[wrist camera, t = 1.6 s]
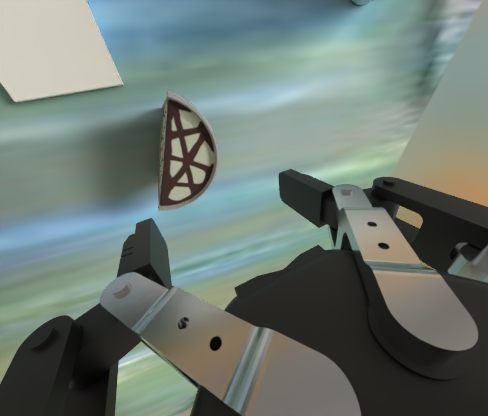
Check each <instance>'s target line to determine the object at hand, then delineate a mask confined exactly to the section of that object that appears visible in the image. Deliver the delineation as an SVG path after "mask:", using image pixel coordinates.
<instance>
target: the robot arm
mask: <svg viewBox="0 0 488 416" xmlns="http://www.w3.org/2000/svg"><path fill="white" fill-rule="evenodd" d="M351 1H352V2H354V3H355V4H357V5H365V4H367V3H369V2H371V1H374V0H351ZM279 190H280V197H281V199H282V201H283V202H284V203H285V204H287V205H288V206H289V207H291V208H292V209H294V210H295V211H296V212H298V213H299V214H300V215H302V216H303V217H305V218H306V219H307V220H309V221H310V222H312V223H313V224H314V225H316V226H317V227H318V228H320V227H322V226H324V225H326V224H328V233H329V237H330V242H331V246H332V250H324V249H323V248H322V247H320V246H319V245H317V246H315V247H313V248H312V249H310V250H308V251H306V252H304V253H302V254H300V255H299V256H298V257H297V258H296V259H294V260H293V261H292V262H291V263H290V264H289V265H288V266H287V267H286V268H285V269H283V270H280V271H276V272H272V273H268V274H264V275H260V276H257V277H255V278H253V279H251V280H249V281H247V282H245V283H243V284H241V285H239V286H237V287H235V291H236V294H237V296H236V297H235V298H234V299H233V300H232V301H231V302H230V303H229V305H228V306H227V307H226V309H225V310H222V309H220V308H218V307H216V306H214V305H212V304H210V303H208V302H206V301H204V300H202V299H200V298H198V297H196V296H194V295H192V294H190V293H188V292H186V291H184V290H182V289H180V288H178V287H175V286H172V284H171V275H170V267H169V258H168V249H167V245H166V243H165V240H164V238H163V237H162V235H161V233H160V231H159V229H158V227H157V226H156V224H155V222H154V220H153V219H152V218H150V219H147V220H144V221H141V222H139V223H137V224H136V230H135V234H133V235H130V236H129V237H128V238H127V240H126V241H125V242H124V244H123V249H122V251H123V252H122V254H121V259H120V264H119V269H118V274H117V278H116V279H115V280H113V281H112V282H111V283H110V284H109V285H108V286H107V287H106V288H105V289H104V291H103V292H102V294H101V297H100V303H99V304H98V305H96V306H95V307H93V308H92V309H90V310H89V311H87V312H86V313H84V314H83V315H82V316H80V317H79V318H77V319H76V320H73V319H72V318H71V317H69V316H65V315H64V316H59V317H56V318H53V319H51V320H49V321H48V322H46V323H44V324H43V325H42V326H40V327H39V328H38V329H36V330H35V331H34V332H33V333H32V334H31V335H30V336H29V337H28V338H27V339H26V340H25V341H24V342H23V343H22V344H21V346H20V347H19V349H18V350H17V352H16V354H15V356H14V358H13V360H12V362H11V364H10V366H9V368H8V370H7V372H6V374H5V376H4V378H3V380H2V382H1V384H0V416H115V403H116V389H117V375H118V362H119V360H120V359H121V358H122V357H124V356H125V355H126V354H127V353H128V352H129V351H130V350H132V349H133V348H134V347H135V346H136V345H137V344H139V343H140V342H142V343H143V344H145V345H146V346H147V347H148V348H150V349H151V350H152V351H153V352H154V353H156V354H157V355H158V356H159V357H160V358H162V359H163V360H164V361H165V362H167V363H168V364H169V365H170V366H171V367H173V368H174V369H175V370H176V371H177V372H178V373H179V374H181V375H182V376H183V377H184V378H185V379H187V380H188V381H189V382H190V383H191V384H193V385H194V386H195V387H196V388H197V389H198V391H197V394H196V398H195V401H194V404H193V408H192V411H191V415H190V416H488V207H486V206H483V205H480V204H477V203H473V202H470V201H467V200H464V199H461V198H457V197H455V196H452V195H448V194H445V193H442V192H439V191H436V190H433V189H429V188H427V187H423V186H420V185H417V184H414V183H411V182H408V181H405V180H401V179H398V178H393V177H380V178H377V179H375V180H374V181H373V186H372V188H368V189H363V190H362V189H361V188H360V187H358V186H355V185H350V184H342V185H337V186H335V187H334V186H332V185H330V184H327V183H325V182H323V181H320V180H318V179H316V178H314V177H311V176H309V175H306V174H301V173H299V172H297V171H294V170H292V169H289V170H286V171H283V172H281V173H279ZM399 206H402V207H405V208H407V209H409V210H412V211H414V212H416V213H418V214H419V215H420V216H421V217H422V218H423V223H422V226H421V228H420V229H419V228H417V227H415V226H412V225H410V224H408V223H406V222H404V221H402V220H400V219H398V218H396V214H397V211H398V209H399ZM420 260H421V261H422V262H424V263H426V264H427V265H429V266H430V267H432V268H434V269H435V270H433V269H430V268H427V267H425V266H424V265H423V264H422V262H421V261H420ZM436 270H437V271H436Z"/></svg>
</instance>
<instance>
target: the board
mask: <svg viewBox="0 0 488 416" xmlns="http://www.w3.org/2000/svg"><path fill="white" fill-rule="evenodd" d="M0 83H1V84H2V85H3V87H4V88H5V89H6V91H7V92H8V93H9V95H10V96H11V97H12V99H13V100H14V101H15V102H25V101H31V100H37V99H43V98H49V97H55V96H61V95H67V94H73V93H79V92H85V91H91V90H97V89H103V88H109V87H116V86H122V85H124V84H123V82H122V79H121V77H120V75H119V73H118V70H117V68H116V66H115V64H114V61H113V59H112V57H111V54H110V52H109V50H108V48H107V45H106V43H105V41H104V39H103V36H102V34H101V32H100V29H99V27H98V25H97V23H96V20H95V18H94V16H93V14H92V11H91V9H90V7H89V4H88V2H87V0H0Z"/></svg>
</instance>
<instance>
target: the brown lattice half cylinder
mask: <svg viewBox="0 0 488 416" xmlns="http://www.w3.org/2000/svg"><path fill="white" fill-rule="evenodd" d="M218 161H219V153H218V146H217V141H216V138H215V135H214V133H213V130H212V129H211V127H210V125H209V123H208V121H207V120H206V118H205V117H204V116H203V114H202V113H201V112H200V111H199V110H198V109H197V108H196V107H195V106H194V105H193V104H191V103H190V102H189V101H188V100H186V99H184V98H183V97H181V96H179V95H178V94H175V93H173V92H170V91H168V90H167V98H166V100H165V102H164V104H163V107H162V118H161V133H160V147H159V162H158V198H159V206H158V209H159V211H169V210H175V209H178V208H182V207H185V206H187V205H189V204H191V203H193V202H194V201H196V200H197V199H198V198H200V197H201V196H202V195H203V194H204V193H205V192H206V191H207V189H208V188H209V187H210V185H211V184H212V182H213V180H214V178H215V175H216V172H217V168H218Z"/></svg>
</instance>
